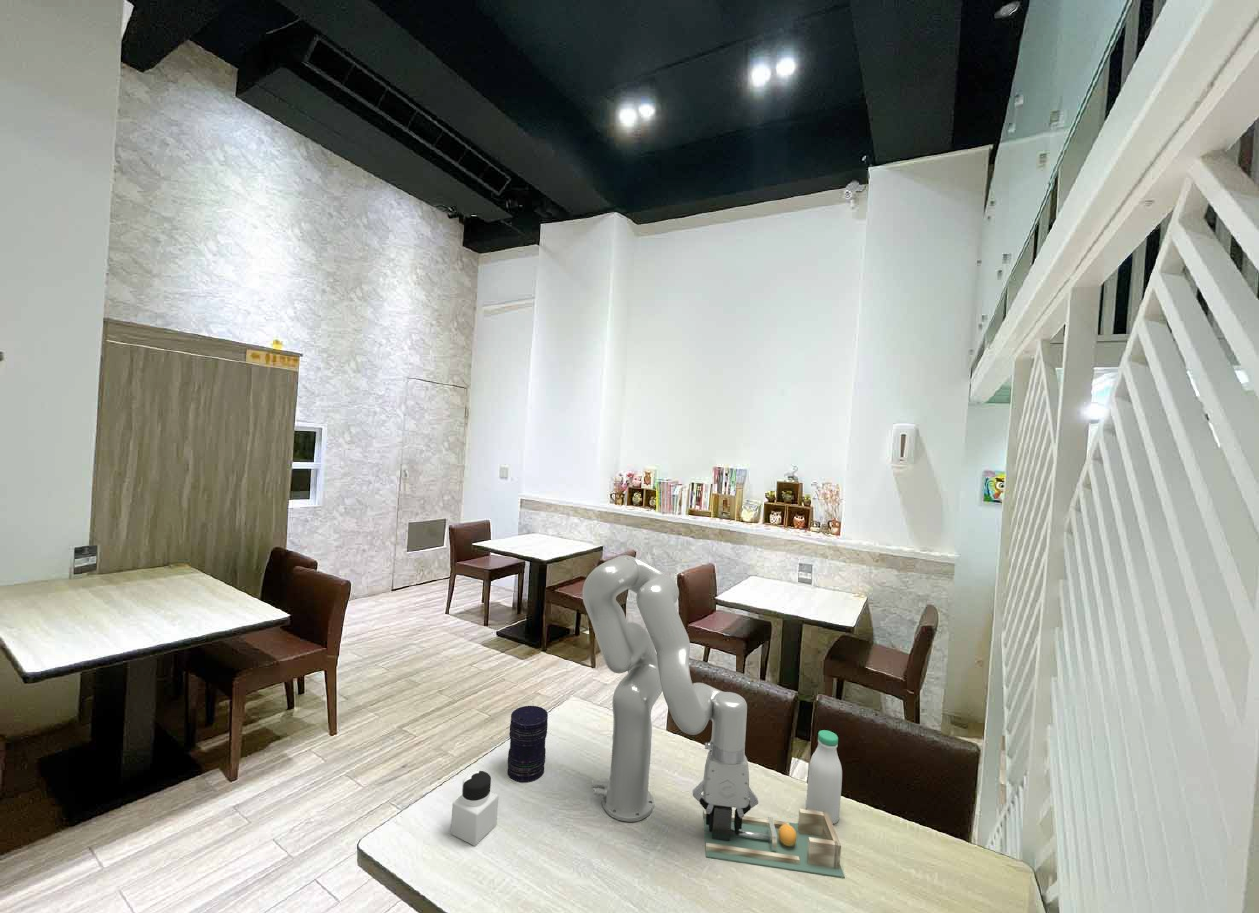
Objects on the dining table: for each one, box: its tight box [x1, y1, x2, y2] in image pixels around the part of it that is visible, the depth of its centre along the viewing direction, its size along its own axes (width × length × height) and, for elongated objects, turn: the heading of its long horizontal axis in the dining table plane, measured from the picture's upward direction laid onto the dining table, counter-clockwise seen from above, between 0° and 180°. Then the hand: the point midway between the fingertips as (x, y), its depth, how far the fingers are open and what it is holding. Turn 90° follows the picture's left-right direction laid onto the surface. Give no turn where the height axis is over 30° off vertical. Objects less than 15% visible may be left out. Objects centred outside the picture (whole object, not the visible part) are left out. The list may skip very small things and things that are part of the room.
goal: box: [797, 808, 842, 869], centre depth 113 cm, size 6×10×5 cm, turn 174°
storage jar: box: [507, 705, 549, 784], centre depth 134 cm, size 10×10×15 cm
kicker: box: [712, 805, 777, 851], centre depth 115 cm, size 14×6×7 cm, turn 84°
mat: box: [702, 809, 846, 879], centre depth 115 cm, size 29×14×1 cm, turn 84°
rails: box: [703, 810, 800, 864], centre depth 115 cm, size 20×11×1 cm, turn 84°
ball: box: [778, 824, 797, 846], centre depth 114 cm, size 4×4×4 cm
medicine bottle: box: [450, 770, 499, 847], centre depth 112 cm, size 7×7×12 cm
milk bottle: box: [805, 729, 843, 825], centre depth 125 cm, size 8×8×20 cm
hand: (723, 828), depth 115 cm, fingers closed on kicker, 5 cm apart
